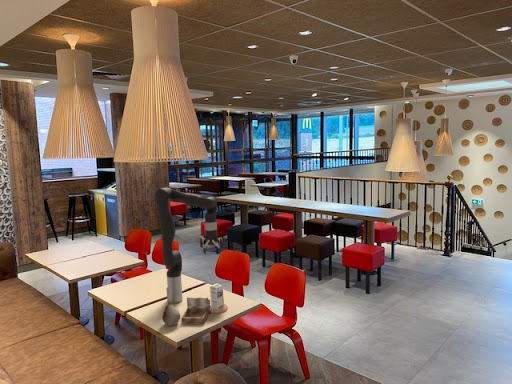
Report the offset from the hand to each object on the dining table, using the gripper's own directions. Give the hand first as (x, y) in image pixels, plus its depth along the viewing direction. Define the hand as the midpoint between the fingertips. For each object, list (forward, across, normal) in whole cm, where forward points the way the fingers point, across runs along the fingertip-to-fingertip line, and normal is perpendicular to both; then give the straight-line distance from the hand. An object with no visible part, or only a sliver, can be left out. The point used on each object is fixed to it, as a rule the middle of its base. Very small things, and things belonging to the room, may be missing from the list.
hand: (212, 253), depth 242 cm
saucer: (+33, +4, -9) cm, 34 cm away
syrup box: (+32, +4, -9) cm, 34 cm away
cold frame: (+33, -7, -22) cm, 40 cm away
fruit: (+33, -19, -29) cm, 48 cm away
